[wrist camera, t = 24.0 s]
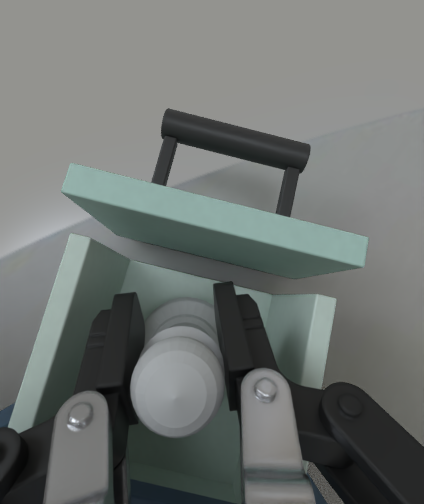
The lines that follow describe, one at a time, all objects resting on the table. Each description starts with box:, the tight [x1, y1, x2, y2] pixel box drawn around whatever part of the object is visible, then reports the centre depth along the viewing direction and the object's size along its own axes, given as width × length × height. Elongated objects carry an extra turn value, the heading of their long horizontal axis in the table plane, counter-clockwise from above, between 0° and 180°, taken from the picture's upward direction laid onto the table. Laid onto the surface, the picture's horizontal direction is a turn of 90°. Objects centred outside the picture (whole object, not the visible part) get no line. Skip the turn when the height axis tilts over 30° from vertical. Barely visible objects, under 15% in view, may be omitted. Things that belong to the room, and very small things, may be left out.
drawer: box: [8, 109, 369, 504], centre depth 14 cm, size 18×11×8 cm, turn 166°
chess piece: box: [130, 297, 225, 438], centre depth 11 cm, size 5×5×8 cm
